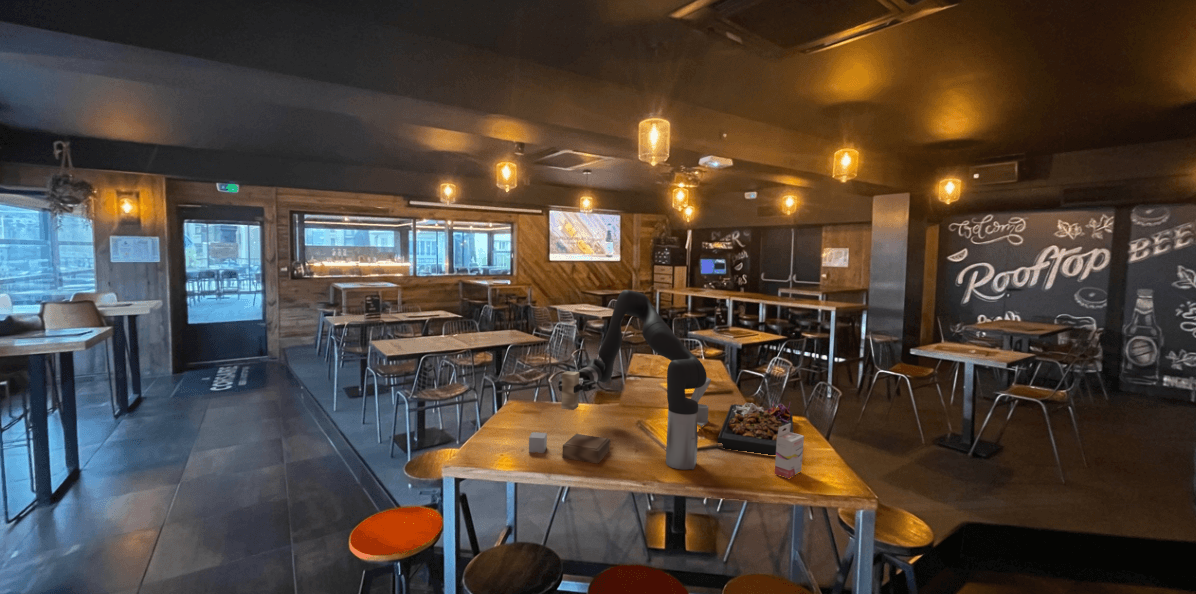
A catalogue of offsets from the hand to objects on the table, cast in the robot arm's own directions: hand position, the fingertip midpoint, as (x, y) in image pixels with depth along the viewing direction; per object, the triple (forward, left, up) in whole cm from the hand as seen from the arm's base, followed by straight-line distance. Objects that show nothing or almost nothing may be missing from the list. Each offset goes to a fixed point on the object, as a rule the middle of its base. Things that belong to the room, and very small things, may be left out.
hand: (567, 389), depth 173 cm
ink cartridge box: (-71, -6, -20) cm, 74 cm away
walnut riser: (-9, +4, -20) cm, 22 cm away
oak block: (0, -3, -7) cm, 8 cm away
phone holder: (-36, -42, -20) cm, 59 cm away
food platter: (-61, -42, -20) cm, 77 cm away
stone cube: (+7, +7, -20) cm, 22 cm away
